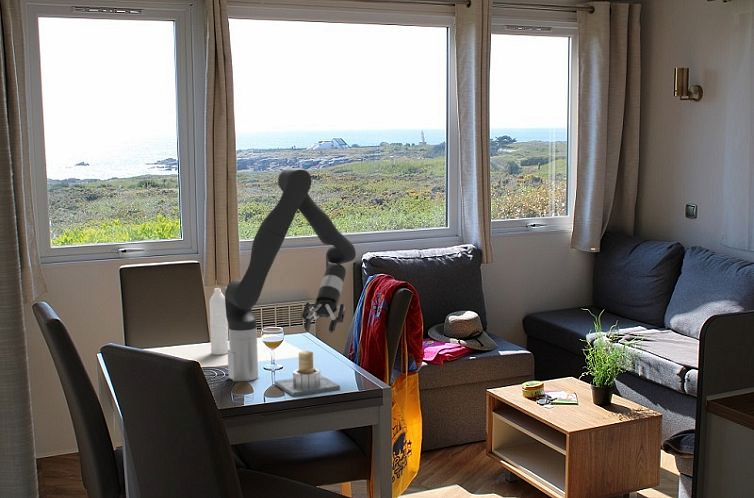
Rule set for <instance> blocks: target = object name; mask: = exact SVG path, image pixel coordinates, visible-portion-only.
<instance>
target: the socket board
mask: <svg viewBox="0 0 754 498" xmlns="http://www.w3.org/2000/svg"><path fill="white" fill-rule="evenodd" d="M274 385H275V386H277V387H278V388H279V389H281V390H283V391H284V392H285V393H287V394H289V395H291V396H292V397H298V396H306V395H312V394H318V393H325V392H331V391H338V390H341V385H339V384H337V383H336V382H334V381H332V380H330V379H329V378H327V377H325V376H323V375H321V370H320V369H318V368H314V367H313V373H309V374H301V373H299V368H297V369H294V370H293V371H292V378H287V379H280V380H274Z"/></svg>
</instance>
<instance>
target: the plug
mask: <svg viewBox="0 0 754 498" xmlns="http://www.w3.org/2000/svg"><path fill="white" fill-rule="evenodd" d="M313 368H314V352H313V351H310V350H309V351H308V350H306V351H305V350H304V351H300V352H298V369H299V373H301V374H309V373H313Z"/></svg>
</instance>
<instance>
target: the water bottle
mask: <svg viewBox="0 0 754 498" xmlns="http://www.w3.org/2000/svg"><path fill="white" fill-rule="evenodd" d="M226 288H227V286H225V289H226ZM213 291H214V292H213V293H212V295H211V297H210V299H209V303H208V304H209V320H210V321H209V326H210V327H209V329H210V330H209V331H210V346H211V347H210V353H211V354H212V355H217V356H220V355H228V350H230V348H229V324H228V321H227V318H226V307H225V294H223V293H222V290H221V287H215V288H214V290H213Z"/></svg>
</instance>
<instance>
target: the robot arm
mask: <svg viewBox="0 0 754 498" xmlns="http://www.w3.org/2000/svg"><path fill="white" fill-rule="evenodd" d="M277 183H278V187H279V188H280V190H281V191H282V194H281V196H280V199H279V201H278V203H276V205H275V206H274V208H273V209H272V210H271V211H270V212H269V213H268V214H267V215H266V217H265V218H264V219H263V220H262V222H261V224H260V225H259V228H258V230H257V231H256V234H255V236H254V237H253V241H252V245H251V251H250V260H249V264H248V267H247V269H246V271H245V273H244V274H243V278H241V279H234V280H231V281H230V282H229V283H228V284H227V286H226V287H227V288H226V287H225V292H224V297H225V307H226V318H227V322H228V348H229V350H228V353H227V368H228V378H229V379H230V380H231V381H233V382H248V381H254V380H256V379H258V378H259V362H258V335H257V334H258V332H257V330H258V329H257V327H258V325H257V318H256V317H255V315H254V313H253V310H252V309H253V307H254V306H255V305H256V304H257V303H258V301H259V299H260V296H261V293H262V290H263V288H264V285H265V282H266V279H267V277H268V274H269V272H270V269H271V267H272V265H273V263H274V261H275V260H276V258H277V255H278V253H279V251H280V249H281V246H282V245H283V242H284V241H285V239H286V237H287V233H288V231H289V229H290V227H291V225H292V223H293V220H294V218H295V216H296V214H297V212H298V210H299V212H300V213H301V214H302V215H303V217H304V218H305V219H306V221H307V223H308V224H309V225H310V227H311V228H312V230H313V231H314V233H315V234H316V236H317V237H318V239H319V240H320V242H321V243H322V244H323V245H326V246H330V247H329V248H328V250H327V251H326V253H325V254H326V255H325V268H326V269H325V272H324V275H323V278H322V280H321V283H320V287H319V289H318V293H317V296H316V301H315V303H314V304H311V303H310V302H306V303H305V305H304V309H303V310H302V314H301V318H302V319H303V321H304V325H303V328H304V330H305V331H306V332H309V331H310V329H311V325H312V322H313V321H314V320H317V319H318V318H329V317H330V319H331V321H330V323H329V328H328V331H329V333H331V334H333V332H335V330H336V327H337V324H338V323H340V324H342V323H343V322H344V319H345V314H346V313H345V312H346V307H345V305H344V304H343V303H341V304H340V305H339V301H340V298H341V294H342V290H343V285H344V281H345V278H346V273H347V271H346V270H347V269H346V268H345V266H343V265H344V264H346V263H350V262H352V261H354V260H355V258H356V255H357V253H356V252H357V251H356V248H355V246H354V245H353V243H352V242H351V241H350V240H349V239H348V238H347V237H346V236H344V235H343V233H341V232H340V231H339V230H338V228H337V227H336V225H335V224H334V222H333V221H332V219H331V218H330V217H329V215H328V214H327V212H325V211H324V210H323V209H322V208H321V207H320V206H319V205H318V204H317V203H316V202H315V200H314V199H313V198H312V197H311V195H310V193H309V191H310V189H311V187H312V177H311V174H310V172H309V171H308V170H306V169H302V168H287V169H284V170H282V171H281V172H280V174H279V176H278V179H277ZM337 311H338V314H337V317H336V316H335V314H334V313H335V312H337Z"/></svg>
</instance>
